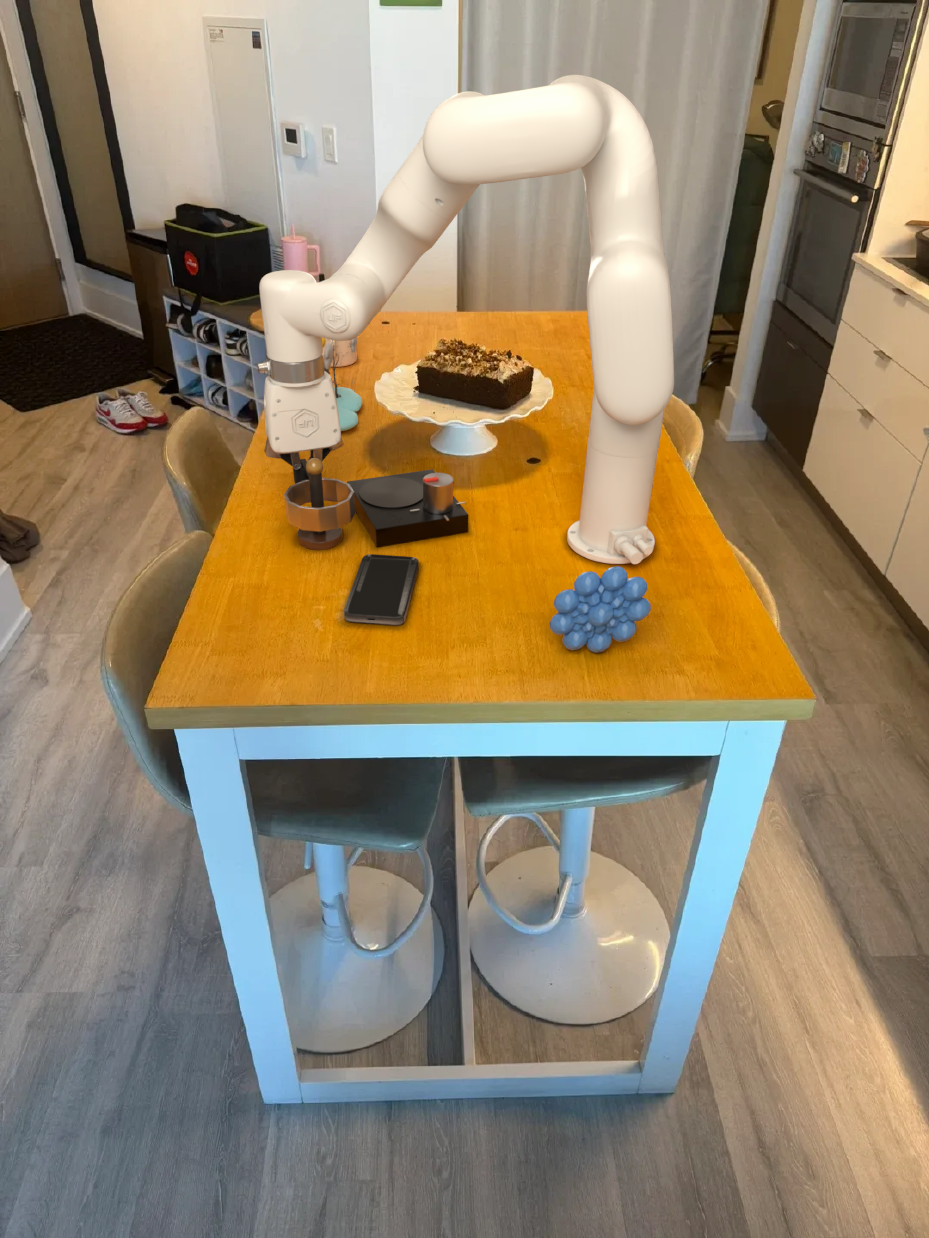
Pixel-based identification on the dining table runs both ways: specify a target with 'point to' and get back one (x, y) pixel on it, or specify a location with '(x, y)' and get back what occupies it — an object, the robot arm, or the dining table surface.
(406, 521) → the hotplate
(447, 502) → the hotplate knob
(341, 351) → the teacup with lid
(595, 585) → the blue knobbed flower shape
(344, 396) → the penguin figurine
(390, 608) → the phone
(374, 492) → the burner
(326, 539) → the peg stand
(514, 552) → the dining table surface
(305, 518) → the egg ring
